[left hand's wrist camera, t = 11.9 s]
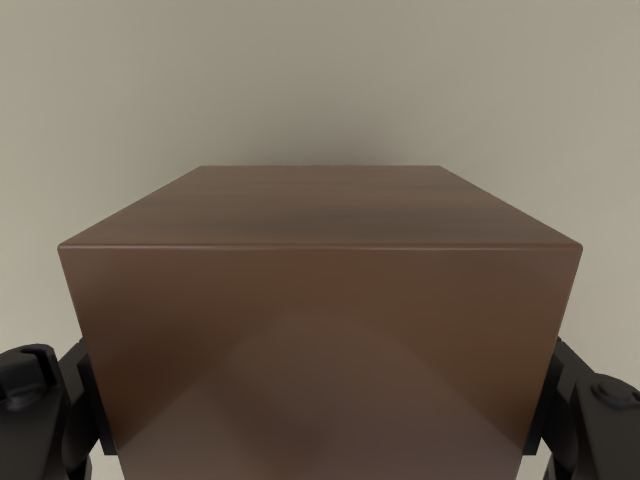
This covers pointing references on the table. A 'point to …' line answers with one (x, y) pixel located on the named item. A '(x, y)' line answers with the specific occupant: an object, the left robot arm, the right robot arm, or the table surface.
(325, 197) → the thick board
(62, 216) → the table surface
